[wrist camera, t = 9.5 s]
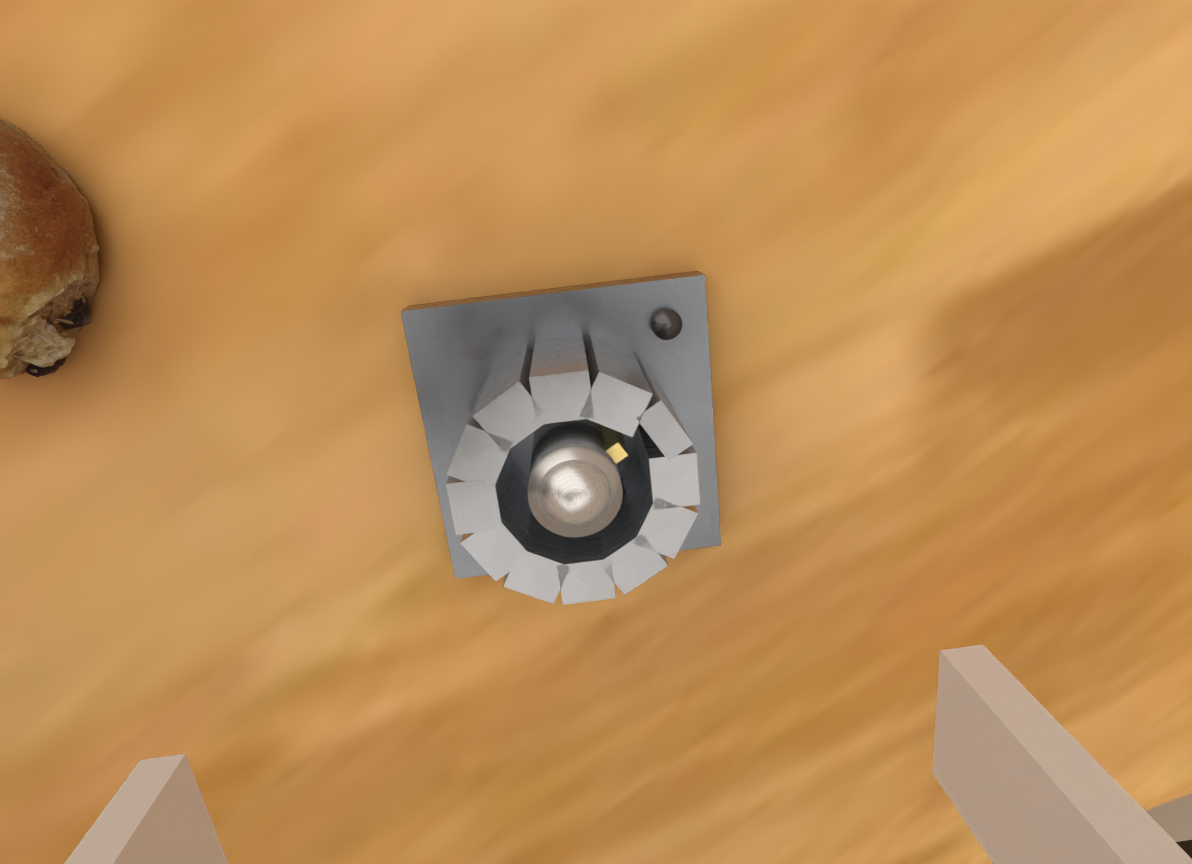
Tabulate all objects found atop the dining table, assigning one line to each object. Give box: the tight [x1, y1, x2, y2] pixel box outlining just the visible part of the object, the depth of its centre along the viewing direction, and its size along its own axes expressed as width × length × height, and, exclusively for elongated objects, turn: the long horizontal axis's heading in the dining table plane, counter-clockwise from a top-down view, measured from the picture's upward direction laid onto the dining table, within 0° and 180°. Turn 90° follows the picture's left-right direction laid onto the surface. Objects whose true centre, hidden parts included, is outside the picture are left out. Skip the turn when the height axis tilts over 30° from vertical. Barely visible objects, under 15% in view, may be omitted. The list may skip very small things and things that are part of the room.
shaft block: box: [401, 271, 721, 579], centre depth 26 cm, size 12×12×8 cm
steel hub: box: [446, 335, 700, 605], centre depth 26 cm, size 8×8×6 cm
